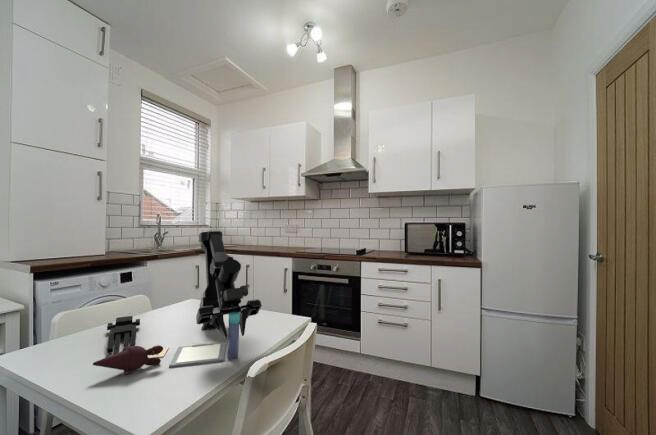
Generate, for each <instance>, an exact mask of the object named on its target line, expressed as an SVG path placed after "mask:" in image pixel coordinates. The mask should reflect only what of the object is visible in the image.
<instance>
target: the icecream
mask: <svg viewBox="0 0 656 435" xmlns="http://www.w3.org/2000/svg"><path fill="white" fill-rule="evenodd" d="M163 348H164V347H163V346H162V345H159V344H158V345H154V346H152V347H150V348H148V349H146V348H145V347H142V346H140V345H135V346H131V345H130V344H129V347H128V348H127V350H124V351H123V350H122V351H119V353H117V354H114V355H113V354H112V355H109V356H107V357H105V358H102V359H98V360H96V361H93V362H92V366H96V367H103V368H108V369H113V370H120V371H124V372H123V374H124V375H126V374H127V373H132V372H136V371H138V370H139V369H141V368H143V367H144V366H148V367H149V366H151V367H153V366H158V365H159V364H160V363H161V361H162V360H161V358H155V357H154V358H148V357H149V356H150V355H156V354H159V353H161V352H162V351H163Z"/></svg>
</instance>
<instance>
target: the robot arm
mask: <svg viewBox="0 0 656 435" xmlns="http://www.w3.org/2000/svg"><path fill="white" fill-rule="evenodd" d="M198 242H199V243H200V248H201V250H202V251H203V252H204V253H205V254H204V257H205V258H204V259H205V275H206V277H205V278H206V288H205V290H204V291H203V293H202V296H201V299H200V303H199V308H198V309H197V313H196V316H195V317H196V319H195V320H196V324H197V325H201V331H203V330H217V331H218V332H219V333H220V335H221V336H222V337H223V338H224V340H228V331H227V328H226V324H225V320H224V316H225V315H229V313H232V312H239V313H240V322H239V331H240V334H241V336H243V337H244V335H245V332H246V323H247V319H248V318H249V317H251V316H256V315H258V313H259V312H260V310H261V308H262V307H263V305H262V301H261V300H260V299H259V298H258V299H257V298H256V299H250V300H247V302H246V304H243V305H240V304H242V299H244V297H247V296H248V295H249V289H248V285H247V284H245V285H241V286H240V287H236V286H235V282H236V281H237V278H238V276H239V274H240V271H241V269H242V264H241V263H240V262H239V261H238V260H236V259H234V256H230V255H229V254H227V253H226V248H225V245H224V240H223V232H222V231H220V230H208V231H207V230H202V232H200V233H199V234H198Z"/></svg>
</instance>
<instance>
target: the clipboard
mask: <svg viewBox="0 0 656 435" xmlns="http://www.w3.org/2000/svg"><path fill="white" fill-rule="evenodd" d="M226 346H227V345H226V342H216V343H215V342H214V343H213V341H206V342H195V343H194V342H193V343H192V344H191V345H185V346H178V348H177V349H176V351H175V353H174V355H173V357H172V359H171V361H170V363H169V365H168V368H176V367H179V368H180V367H186V366H194V365H204V364H211V363H220V362H224V359H225V352H226Z"/></svg>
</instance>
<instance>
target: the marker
mask: <svg viewBox="0 0 656 435" xmlns="http://www.w3.org/2000/svg"><path fill="white" fill-rule="evenodd" d="M239 322H240V313H239V312H232V313H229V314H228V331H227V357H226V358H227V360H228V361H235V360H238V358H239V339H240V325H239Z"/></svg>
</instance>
